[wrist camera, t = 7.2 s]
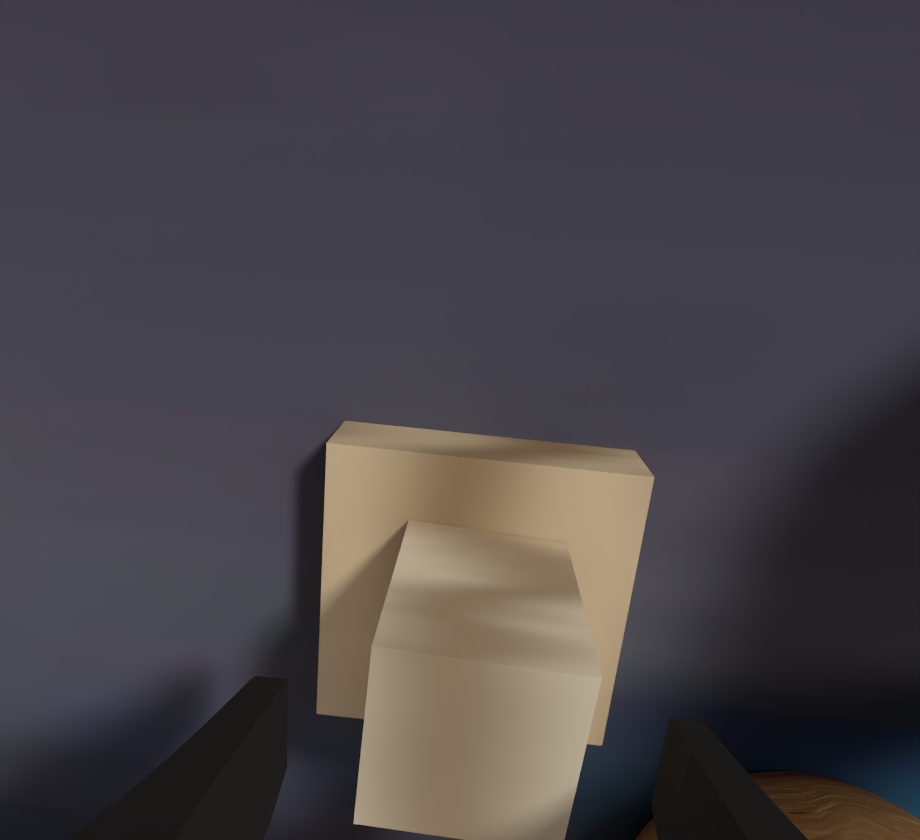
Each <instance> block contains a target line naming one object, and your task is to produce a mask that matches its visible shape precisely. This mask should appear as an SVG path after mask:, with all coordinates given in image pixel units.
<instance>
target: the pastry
mask: <svg viewBox="0 0 920 840" xmlns="http://www.w3.org/2000/svg"><path fill="white" fill-rule="evenodd" d="M748 774H749V775H750V776H751V777H752V778H753V779H754V781H755V782H756V783H757V784H758V785H759V786H760V787H761V789H762V790H763V791H764V792H765V793H766V794H767V795H768V796H769V798H770V799H771V800H772V801H773V802H774V803H775V804H776V805H777V806H778V808H779V809H780V810H781V811H782V812H783V813H784V814H785V815H786V816H787V817H788V819H789V820H790V821H791V822H792V823H793V824H794V825H795V826H796V827H797V828H798V829H799V830H800V831H801V832H802V834H803V835H804V836H805V837H806V838H807V839H808V840H920V820H919V819H918V818H916V817H915V816H913V815H912V814H910V813H909V812H907V811H906V810H904V809H903V808H901V807H899V806H897V805H895V804H893V803H891V802H889V801H887V800H885V799H883V798H881V797H879V796H877V795H875V794H873V793H871V792H868V791H866V790H863V789H861V788H858V787H856V786H853V785H851V784H848V783H846V782H843V781H840V780H836V779H833V778H829V777H826V776H822V775H816V774H811V773H805V772H799V771H768V772H754V773H748ZM635 840H658V839H657V833H656V828H655V822H654V817H653V818H652V819H651V820H650V821H649V822H648V823H647V824H646V826H645V827H644V828H643V829H642V831H641V832H640V833H639V834H638V836H637V837H636V838H635Z"/></svg>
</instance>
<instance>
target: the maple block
mask: <svg viewBox="0 0 920 840" xmlns="http://www.w3.org/2000/svg"><path fill="white" fill-rule="evenodd" d="M601 681H602V676H601V673H600V669H599V665H598V661H597V657H596V653H595V649H594V646H593V642H592V638H591V634H590V630H589V626H588V622H587V618H586V615H585V611H584V607H583V603H582V599H581V595H580V591H579V588H578V584H577V580H576V576H575V572H574V568H573V564H572V561H571V557H570V553H569V549H568V545H567V542H562V541H554V540H547V539H540V538H533V537H526V536H518V535H511V534H504V533H497V532H490V531H483V530H475V529H468V528H461V527H454V526H447V525H439V524H432V523H425V522H418V521H411V520H409V521H408V524H407V528H406V531H405V534H404V538H403V541H402V545H401V548H400V552H399V555H398V558H397V562H396V565H395V569H394V572H393V575H392V579H391V582H390V586H389V589H388V592H387V596H386V599H385V603H384V606H383V609H382V613H381V616H380V620H379V623H378V626H377V630H376V633H375V637H374V640H373V644H372V649H371V658H370V668H369V678H368V687H367V697H366V706H365V716H364V726H363V735H362V745H361V755H360V764H359V774H358V783H357V793H356V803H355V812H354V822H353V824H359V825H366V826H373V827H380V828H387V829H394V830H401V831H408V832H414V833H421V834H428V835H435V836H442V837H449V838H456V839H463V840H565V836H566V831H567V827H568V823H569V818H570V814H571V810H572V806H573V801H574V797H575V793H576V788H577V784H578V780H579V775H580V771H581V767H582V762H583V758H584V754H585V750H586V745H587V741H588V737H589V732H590V728H591V724H592V719H593V715H594V711H595V707H596V702H597V698H598V694H599V689H600V685H601Z"/></svg>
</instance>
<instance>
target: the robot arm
mask: <svg viewBox="0 0 920 840" xmlns="http://www.w3.org/2000/svg"><path fill="white" fill-rule="evenodd" d="M286 768H287V679H280V678H270V677H260V676H255V677H254V678H253V679H251V680H250V681H249V682H248V683H247V684H246V685H245V686H244V687H243V688H242V689H241V690H240V691H239V692H238V693H237V694H236V695H235V696H234V697H233V698H232V699H231V700H230V701H229V702H228V703H227V704H226V705H225V706H223V707H222V708H221V709H220V710H219V711H218V712H217V713H216V714H215V715H214V716H213V717H212V718H211V719H210V720H209V721H208V722H207V723H206V724H205V725H204V726H203V727H202V728H201V729H200V730H199V731H197V732H196V733H195V734H194V735H193V736H192V737H191V738H190V739H189V740H188V741H186V742H185V743H184V744H183V745H182V746H181V747H180V748H179V749H178V750H177V751H176V752H174V753H173V754H172V755H171V756H170V757H169V758H168V759H167V760H166V761H165V762H163V763H162V764H161V765H160V766H159V767H158V768H156V769H155V770H154V771H153V772H152V773H151V774H149V775H148V776H147V777H146V778H145V779H143V780H142V781H141V782H140V783H139V784H137V785H136V786H135V787H134V788H133V789H132V790H130V791H129V792H128V793H127V794H126V795H124V796H123V797H122V798H121V799H120V800H118V801H117V802H116V803H115V804H113V805H112V806H111V807H110V808H108V809H107V810H106V811H104V812H103V813H102V814H101V815H99V816H98V817H97V818H95V819H94V820H93V821H92V822H90V823H89V824H88V825H86V826H85V827H84V828H82V829H81V830H80V831H78V832H77V833H75V834H74V835H73V836H71V837H70V838H69V839H67V840H263V839H264V836H265V834H266V831H267V829H268V826H269V824H270V821H271V817H272V814H273V811H274V808H275V805H276V802H277V798H278V795H279V792H280V788H281V785H282V782H283V778H284V775H285V772H286ZM651 806H652V811H653V817H654V822H655V828H656V833H657V839H658V840H808V839H807V838H806V837H805V836H804V835H803V834H802V832H801V831H800V830H799V829H798V828H797V827H796V826H795V825H794V824H793V823H792V822H791V821H790V820H789V819H788V817H787V816H786V815H785V814H784V813H783V812H782V811H781V810H780V809H779V808H778V806H777V805H776V804H775V803H774V802H773V801H772V800H771V799H770V798H769V796H768V795H767V794H766V793H765V792H764V791H763V790H762V789H761V787H760V786H759V785H758V784H757V783H756V782H755V781H754V779H753V778H752V777H751V776H750V775H749V774H748V773H747V771H746V770H745V769H744V768H743V767H742V766H741V765H740V763H739V762H738V761H737V760H736V759H735V758H734V756H733V755H732V754H731V753H730V752H729V751H728V749H727V748H726V747H725V746H724V745H723V744H722V742H721V741H720V740H719V739H718V738H717V737H716V735H715V734H714V733H713V732H712V731H711V730H710V729H709V728H708V726H707V725H706V724H705V723H704V722H703V721H696V720H686V719H676V718H670V720H669V724H668V729H667V734H666V738H665V743H664V747H663V752H662V757H661V761H660V766H659V770H658V775H657V780H656V784H655V789H654V794H653V798H652V803H651Z"/></svg>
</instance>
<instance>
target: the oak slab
mask: <svg viewBox="0 0 920 840" xmlns="http://www.w3.org/2000/svg"><path fill="white" fill-rule="evenodd" d="M653 482H654V476H653V475H652V473H651V472H650V471H649V469H648V468H647V466H646V465H645V464H644V462H643V461H642V460H641V458H640V457H639V455H638V454H637V453H636V451H633V450H623V449H614V448H604V447H594V446H584V445H575V444H565V443H555V442H545V441H536V440H526V439H516V438H507V437H497V436H487V435H477V434H468V433H458V432H448V431H438V430H429V429H419V428H409V427H400V426H390V425H380V424H370V423H361V422H351V421H344V422H343V424H342V425H341V426H340V427H339V428H338V430H337V431H336V432H335V433H334V434H333V436H332V437H331V438H330V439H329V441H328V442H327V443H326V470H325V497H324V524H323V551H322V578H321V605H320V632H319V659H318V686H317V713H316V714H323V715H332V716H341V717H350V718H359V719H364V716H365V706H366V697H367V687H368V678H369V668H370V658H371V649H372V644H373V640H374V637H375V633H376V630H377V626H378V623H379V620H380V616H381V613H382V609H383V606H384V603H385V599H386V596H387V592H388V589H389V586H390V582H391V579H392V575H393V572H394V569H395V565H396V562H397V558H398V555H399V552H400V548H401V545H402V541H403V538H404V534H405V531H406V528H407V524H408V521H409V520H411V521H418V522H425V523H432V524H439V525H447V526H454V527H461V528H468V529H475V530H483V531H490V532H497V533H504V534H511V535H518V536H526V537H533V538H540V539H547V540H554V541H562V542H567V545H568V549H569V553H570V557H571V561H572V564H573V568H574V572H575V576H576V580H577V584H578V588H579V591H580V595H581V599H582V603H583V607H584V611H585V615H586V618H587V622H588V626H589V630H590V634H591V638H592V642H593V646H594V649H595V653H596V657H597V661H598V665H599V669H600V673H601V676H602V681H601V685H600V689H599V694H598V698H597V702H596V707H595V711H594V715H593V719H592V724H591V728H590V732H589V737H588V741H587V744H591V745H600V746H602V743H603V738H604V733H605V728H606V723H607V717H608V712H609V707H610V702H611V697H612V692H613V687H614V682H615V676H616V671H617V666H618V661H619V656H620V651H621V646H622V641H623V635H624V630H625V625H626V620H627V615H628V610H629V605H630V600H631V595H632V589H633V584H634V579H635V574H636V569H637V564H638V559H639V554H640V548H641V543H642V538H643V533H644V528H645V523H646V518H647V513H648V507H649V502H650V497H651V492H652V487H653Z"/></svg>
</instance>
